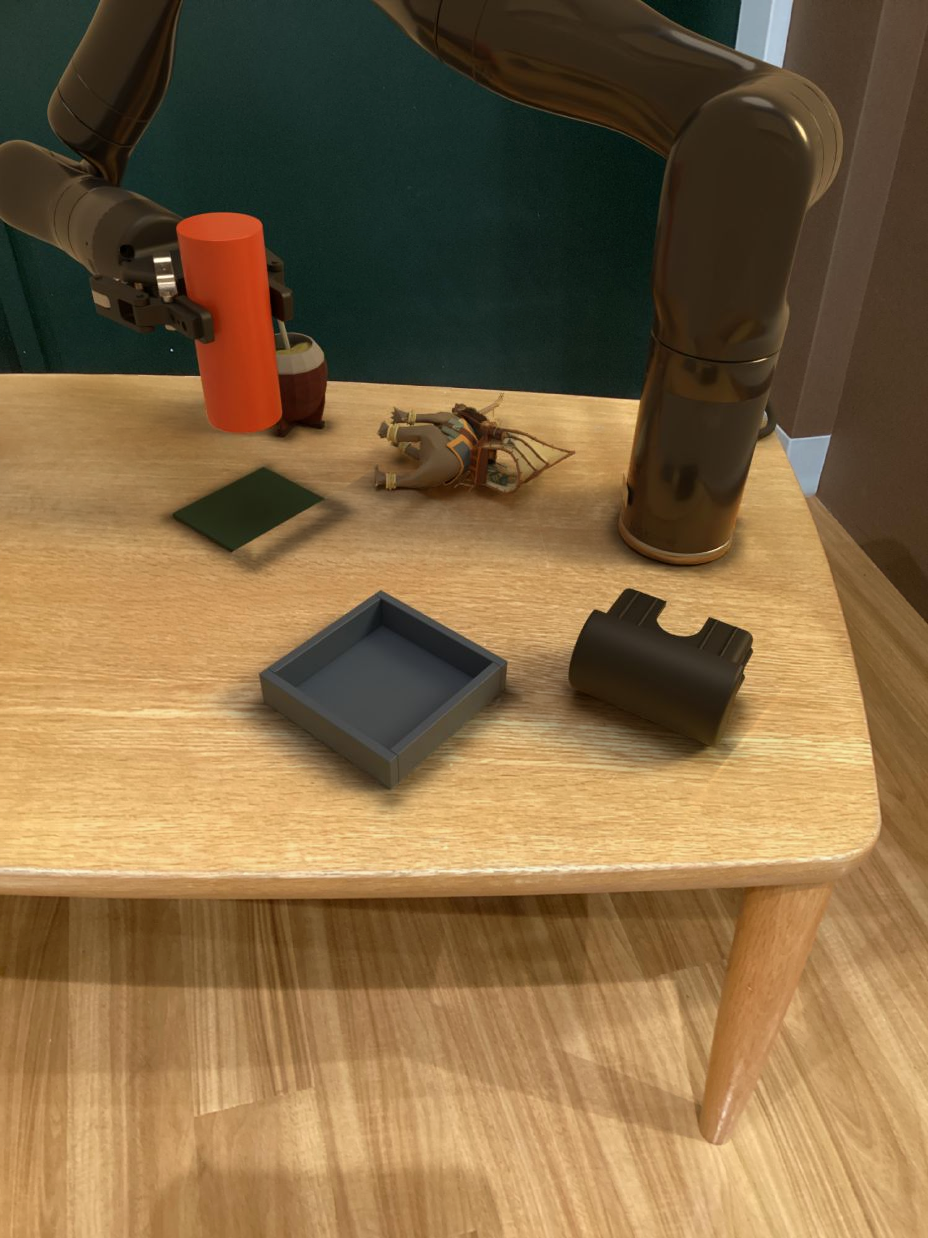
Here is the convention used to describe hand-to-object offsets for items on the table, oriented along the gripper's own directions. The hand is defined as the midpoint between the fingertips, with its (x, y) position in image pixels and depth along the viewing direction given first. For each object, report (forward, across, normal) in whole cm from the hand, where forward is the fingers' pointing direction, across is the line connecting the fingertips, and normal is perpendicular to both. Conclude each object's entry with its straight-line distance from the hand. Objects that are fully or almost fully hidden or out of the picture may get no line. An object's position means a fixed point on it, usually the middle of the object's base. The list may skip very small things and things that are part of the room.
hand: (249, 317), depth 63 cm
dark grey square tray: (+21, -4, +18) cm, 28 cm away
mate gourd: (-15, +12, +19) cm, 27 cm away
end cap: (+33, +9, +18) cm, 38 cm away
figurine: (+4, +19, +18) cm, 27 cm away
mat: (-3, 0, +18) cm, 19 cm away
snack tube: (-2, 0, +8) cm, 9 cm away
